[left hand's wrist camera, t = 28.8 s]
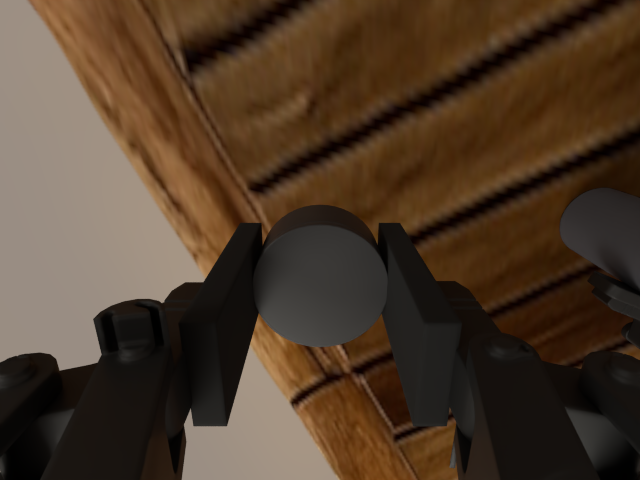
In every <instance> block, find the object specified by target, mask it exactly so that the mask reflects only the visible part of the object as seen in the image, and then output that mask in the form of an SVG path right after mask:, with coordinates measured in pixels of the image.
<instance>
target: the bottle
mask: <svg viewBox="0 0 640 480" xmlns="http://www.w3.org/2000/svg"><path fill="white" fill-rule="evenodd" d="M560 234H561V238H562V240H563V242H564V243H565V244H566V246H567V247H569V248H570V249H571V250H573V251H575V252H576V253H578V254H579V255H581V256H583V257H584V258H586V259H587V260H589V261H590V262H592V263H594V264H595V265H597V266H598V267H600V268H602V269H603V270H605V271H606V272H608V273H609V274H611V275H613V276H614V277H616V278H617V279H619V280H621V281H622V282H624V283H625V284H627V285H628V286H630V287H632V288H633V289H635V290H636V291H638V292H640V198H639V197H636V196H633V195H630V194H627V193H624V192H621V191H618V190H615V189H612V188H597V189H593V190H590V191H587V192H585V193H583V194H581V195H580V196H578V197H577V198H576V199H574V200H573V201H572V202H571V203H570V204H569V206H568V207H567V208H566V210H565V211H564V213H563V215H562V218H561V222H560Z"/></svg>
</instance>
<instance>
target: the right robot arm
mask: <svg viewBox="0 0 640 480" xmlns="http://www.w3.org/2000/svg"><path fill="white" fill-rule="evenodd" d="M588 282H589V283H591V284H592V285H593V286H595V288H594V289H593V291H592V293H593V294H594V295H595V297H596V298H598V299H599V300H600V301H602V302H603V303H604V304H606V305H607V306H608V307H610V308H611V309H612V310H614V311H617V312H619V313H622V314H625V315H627V316H630V317H632V318H634V319H633V322H631V323H628V324H626V325H625V326H624V327H623V328H622V331H621V333H622V336H623V337H625V338H626V339H627V340H628V341H630V342H631V343H632V344H634V345H635V346H636V347H638V348H639V349H640V292H638V291H636V290H635V289H633V288H632V287H630V286H628V285H627V284H625V283H623V282H621V281H618V280H616V279H613V278H611V277H609V276H606V275H604V274H601V273H599V272H596V271H594V272H593V274H592V275H591V276H590V278H589V279H588Z"/></svg>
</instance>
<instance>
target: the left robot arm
mask: <svg viewBox="0 0 640 480" xmlns="http://www.w3.org/2000/svg"><path fill="white" fill-rule="evenodd" d="M262 247H263V244H262V226H261V223H240V224H239V226H238V228H237V229H236V231H235V232H234V234H233V236H232V237H231V239H230V241H229V242H228V244H227V245H226V247H225V249H224V250H223V252H222V253H221V255H220V257H219V258H218V260H217V261H216V263H215V265H214V266H213V268H212V269H211V271H210V273H209V274H208V276H207V278H206V279H205V281H204V282H186V283H184V284H182V285H180V286H179V287H177V288H176V289H174V290H172V291H171V293H170V294H169V295H168V297H167V298H166V299H165V302H164V303H161V302H159V301H156V300H152V299H135V300H130V301H124V302H121V303H118V304H115V305H112V306H110V307H108V308H107V309H105V310H103V311H101V312H100V313H99V314H98V315H97V316H96V317H95V318H94V319H93V320H94V324H95V328H96V332H97V337H98V341H99V345H100V349H101V353H102V355H101V357H100V359H99V361H98V363H95V364H91V365H86V366H81V367H77V368H71V369H66V370H61V371H59V367H58V364H57V361H56V359H55V358H54V357H53V356H52V355H50V354H45V353H31V354H22V355H19V356H14V357H11V358H8V359H7V360H5V361H3V362H0V471H1V472H0V480H182V472H183V464H184V456H185V448H186V436H185V429H184V423H185V421H186V418H187V416H188V413H189V411H190V408H191V412H192V419H193V426H227V424H228V420H229V417H230V413H231V409H232V406H233V403H234V399H235V395H236V392H237V388H238V385H239V381H240V378H241V374H242V370H243V367H244V363H245V360H246V356H247V353H248V349H249V346H250V342H251V338H252V335H253V331H254V328H255V324H256V321H257V317H258V314H259V312H258V310H257V308H256V305H255V302H254V295H253V280H252V278H253V272H254V269H255V266H256V263H257V260H258V258H259V255H260V252H261V250H262ZM378 248H379V251H380V253H381V256H382V258H383V261H384V263H385V266H386V269H387V273H388V284H387V299H386V305H385V307H384V309H383V311H382V316H383V320H384V323H385V327H386V331H387V334H388V338H389V341H390V345H391V348H392V352H393V355H394V359H395V363H396V366H397V370H398V373H399V377H400V380H401V384H402V387H403V391H404V395H405V398H406V402H407V405H408V409H409V412H410V416H411V419H412V423H413V426H447V421H448V414H449V407H450V408H451V411H452V413H453V415H454V418H455V420H456V429H455V435H454V442H453V448H452V454H451V461H450V467H451V468H455V465H456V463H457V471H458V479H459V480H640V360H638V359H636V358H634V357H632V356H629V355H626V354H624V355H623V354H622V353H618V352H608V351H597V352H591V353H589V354H588V355H587V356H586V357H585V358H584V362H583V365H582V369H578V368H573V367H568V366H563V365H558V364H553V363H548V362H545V361H542V360H541V358H540V356H539V354H538V353H537V352H536V351H535V349H534V348H533V347H532V346H531V345H529V344H528V343H526V342H525V341H523V340H522V339H519V338H517V337H514V336H512V335H510V334H505V333H501V331H500V330H499V329H498V327H497V326H496V325H495V324H494V322H493V321H492V320H491V318H490V317H489V316H488V314H487V313H486V312H485V310H484V309H482V307H481V305H480V304H479V303H478V301H476V299H475V297H474V296H473V295H472V293H471V292H470V291H469V289H467V288H465V287H464V286H462V285H460V284H459V283H457V282H456V281H436V280H435V279H434V277H433V275H432V274H431V272H430V271H429V269H428V267H427V266H426V264H425V263H424V261H423V259H422V258H421V256H420V255H419V253H418V251H417V250H416V248H415V247H414V245H413V243H412V242H411V240H410V239H409V237H408V235H407V234H406V232H405V230H404V229H403V227H402V226H401V224H400V223H379V230H378Z"/></svg>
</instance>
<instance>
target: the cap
mask: <svg viewBox="0 0 640 480" xmlns="http://www.w3.org/2000/svg"><path fill="white" fill-rule="evenodd" d="M252 280H253V295H254V302H255V305H256V308H257V310H258V312H259V314H260V315H261V317H262V318H263V320H264V321H265V322H266V323H267V324H268V326H269V327H270V328H272V329H273V330H274V331H275V332H276V333H278V334H279V335H281V336H282V337H284V338H286V339H288V340H290V341H292V342H295V343H298V344H302V345H306V346H312V347H328V346H334V345H339V344H343V343H346V342H348V341H351V340H353V339H355V338H357V337H358V336H360V335H362V334H363V333H364V332H366V331H367V330H368V329H369V328H370V327H371V326H372V325H373V324H374V323H375V322H376V321H377V319H378V318H379V316H380V315H381V313H382V311H383V309H384V307H385V305H386V299H387V284H388V273H387V269H386V266H385V263H384V261H383V258H382V256H381V253H380V251H379V248H378V245H377V243H376V240H375V238H374V236H373V234H372V232H371V231H370V229H369V228H368V227H367V226H366V225H365V223H364V222H363V221H362V220H360V219H359V218H358V217H357V216H355V215H354V214H352V213H350V212H348V211H346V210H344V209H341V208H338V207H334V206H329V205H311V206H306V207H302V208H299V209H297V210H294V211H292V212H290V213H288V214H287V215H285V216H284V217H282V218H281V219H280V220H279V221H278V222H277V223H276V224H275V225H274V226H273V227H272V229H271V230H270V232H269V233H268V235H267V237H266V239H265V242H264V244H263V247H262V250H261V252H260V255H259V258H258V260H257V263H256V266H255V269H254V272H253V278H252Z"/></svg>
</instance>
